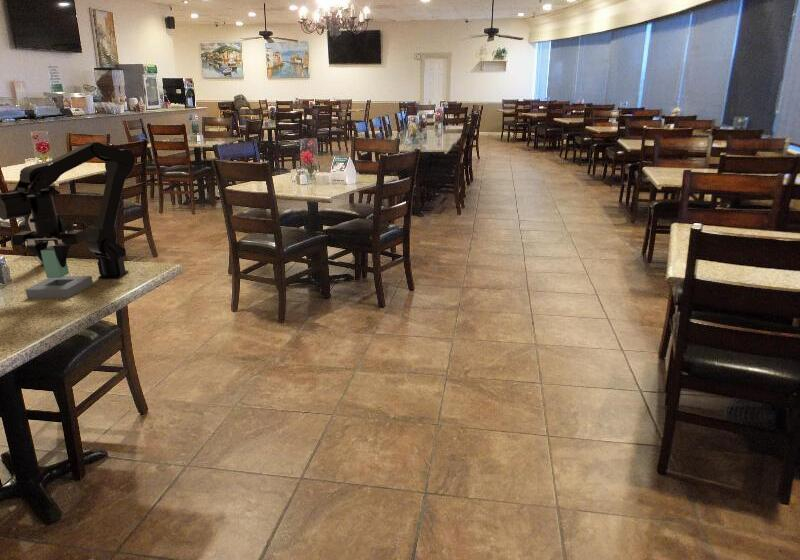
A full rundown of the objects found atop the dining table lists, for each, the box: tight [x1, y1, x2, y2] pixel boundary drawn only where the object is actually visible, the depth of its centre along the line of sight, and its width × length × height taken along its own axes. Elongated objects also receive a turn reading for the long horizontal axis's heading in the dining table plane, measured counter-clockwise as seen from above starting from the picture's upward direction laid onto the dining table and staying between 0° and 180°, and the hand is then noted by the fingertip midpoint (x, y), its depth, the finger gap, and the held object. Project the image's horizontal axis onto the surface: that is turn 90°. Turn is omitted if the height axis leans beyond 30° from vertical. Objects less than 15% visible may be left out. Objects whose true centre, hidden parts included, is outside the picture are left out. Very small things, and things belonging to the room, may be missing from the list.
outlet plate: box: [25, 275, 94, 299], centre depth 166 cm, size 12×12×2 cm
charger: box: [41, 246, 70, 279], centre depth 163 cm, size 4×4×9 cm
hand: (56, 267), depth 164 cm, fingers closed on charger, 4 cm apart
